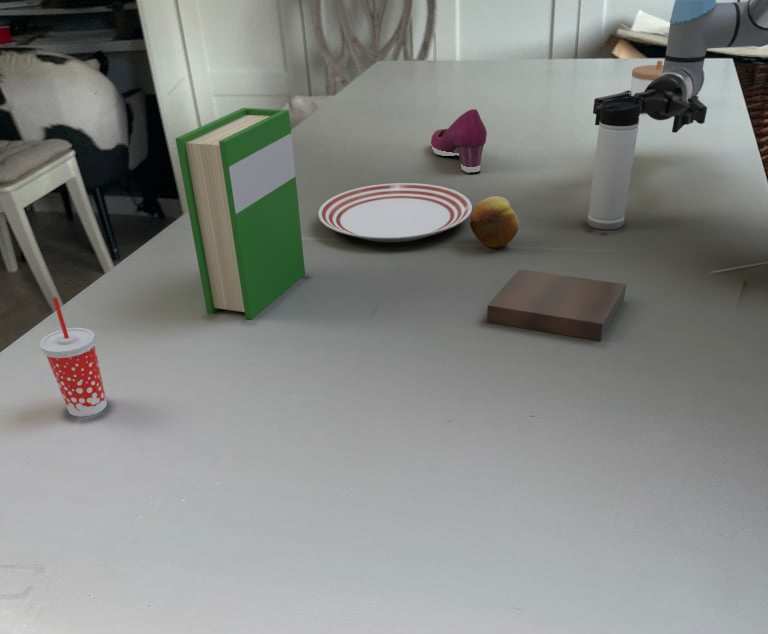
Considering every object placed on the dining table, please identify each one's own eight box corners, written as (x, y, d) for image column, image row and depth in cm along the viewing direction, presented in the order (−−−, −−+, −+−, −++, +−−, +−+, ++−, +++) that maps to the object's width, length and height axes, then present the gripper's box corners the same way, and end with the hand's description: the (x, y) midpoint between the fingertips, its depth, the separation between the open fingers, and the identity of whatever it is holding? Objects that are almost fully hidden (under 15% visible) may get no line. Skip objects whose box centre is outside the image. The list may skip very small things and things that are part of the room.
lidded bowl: (620, 105, 212) (626, 58, 205) (666, 102, 213) (674, 55, 206) (637, 116, 202) (644, 67, 195) (685, 113, 203) (694, 64, 196)
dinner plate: (446, 259, 132) (446, 239, 130) (294, 244, 140) (292, 224, 138) (488, 206, 152) (489, 188, 150) (353, 195, 160) (352, 178, 158)
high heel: (454, 143, 188) (455, 84, 181) (500, 171, 169) (504, 107, 161) (419, 147, 186) (419, 88, 179) (462, 177, 167) (464, 112, 159)
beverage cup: (114, 414, 97) (83, 304, 88) (60, 423, 95) (24, 313, 87) (112, 390, 101) (83, 283, 93) (62, 399, 100) (27, 291, 91)
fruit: (512, 256, 132) (516, 206, 127) (463, 252, 134) (464, 202, 129) (521, 240, 137) (525, 192, 133) (474, 236, 140) (476, 188, 135)
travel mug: (632, 224, 142) (652, 99, 129) (605, 232, 139) (623, 105, 126) (606, 215, 146) (622, 93, 133) (579, 223, 143) (594, 99, 131)
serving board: (623, 300, 117) (626, 284, 116) (600, 341, 107) (603, 323, 106) (518, 284, 123) (519, 268, 121) (486, 322, 113) (487, 305, 111)
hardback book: (251, 319, 116) (225, 141, 101) (207, 312, 119) (175, 138, 104) (305, 274, 129) (288, 110, 114) (264, 268, 131) (243, 107, 116)
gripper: (730, 122, 152) (704, 150, 138) (601, 110, 162) (565, 136, 148) (739, 77, 148) (714, 102, 133) (606, 69, 158) (569, 91, 143)
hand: (635, 120), depth 141 cm, fingers open, 13 cm apart
